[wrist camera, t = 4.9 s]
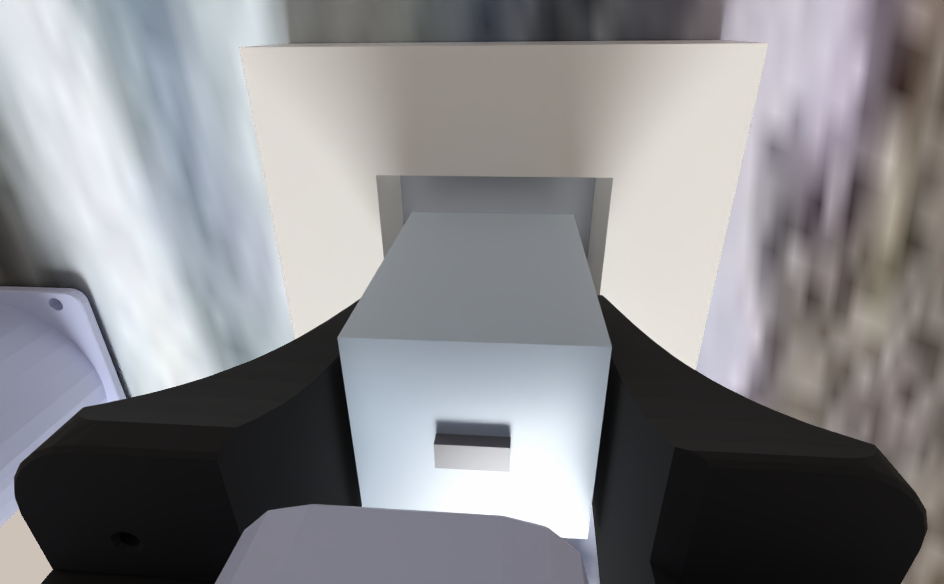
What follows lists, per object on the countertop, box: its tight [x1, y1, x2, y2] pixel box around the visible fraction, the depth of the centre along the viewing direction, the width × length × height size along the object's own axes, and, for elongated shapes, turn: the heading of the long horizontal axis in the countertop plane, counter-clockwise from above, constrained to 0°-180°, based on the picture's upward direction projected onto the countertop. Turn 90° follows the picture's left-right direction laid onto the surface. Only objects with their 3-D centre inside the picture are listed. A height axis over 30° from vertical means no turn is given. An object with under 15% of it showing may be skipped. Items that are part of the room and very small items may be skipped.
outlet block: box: [239, 40, 768, 370], centre depth 16 cm, size 12×12×3 cm
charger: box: [337, 212, 612, 539], centre depth 11 cm, size 4×4×6 cm
